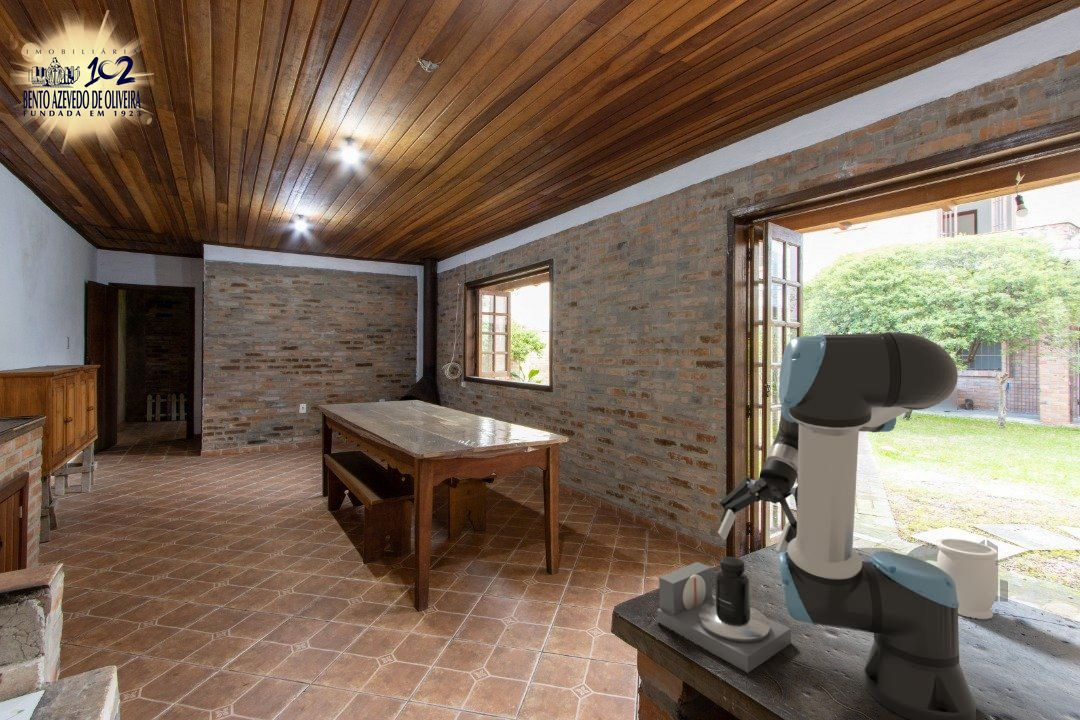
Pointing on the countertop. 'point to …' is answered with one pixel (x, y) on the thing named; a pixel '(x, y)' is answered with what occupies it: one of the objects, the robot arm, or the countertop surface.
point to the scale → (681, 614)
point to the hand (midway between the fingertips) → (748, 545)
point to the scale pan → (739, 633)
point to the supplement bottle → (732, 592)
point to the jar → (970, 575)
